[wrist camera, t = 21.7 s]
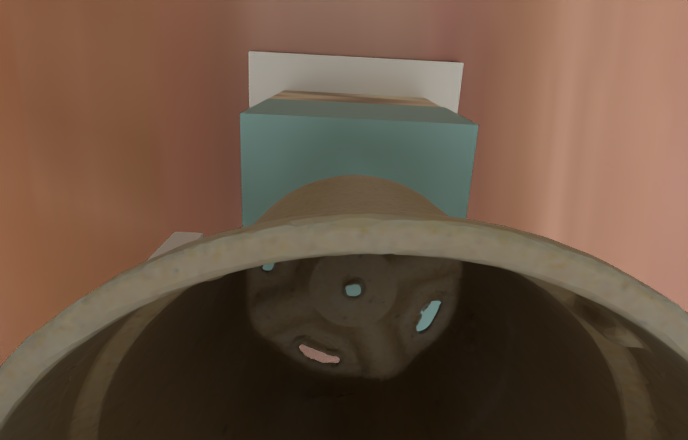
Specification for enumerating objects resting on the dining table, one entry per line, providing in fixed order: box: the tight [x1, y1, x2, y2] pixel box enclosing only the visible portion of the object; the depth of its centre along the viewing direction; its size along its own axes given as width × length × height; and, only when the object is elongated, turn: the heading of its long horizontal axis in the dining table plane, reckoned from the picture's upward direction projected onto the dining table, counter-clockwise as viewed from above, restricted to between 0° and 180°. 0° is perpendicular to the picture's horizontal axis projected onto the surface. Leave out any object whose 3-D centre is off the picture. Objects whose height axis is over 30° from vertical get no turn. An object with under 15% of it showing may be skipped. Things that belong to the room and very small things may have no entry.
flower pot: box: [0, 175, 688, 440], centre depth 9 cm, size 9×9×9 cm
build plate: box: [249, 51, 464, 113], centre depth 29 cm, size 12×12×1 cm
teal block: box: [240, 98, 479, 331], centre depth 20 cm, size 8×8×6 cm
